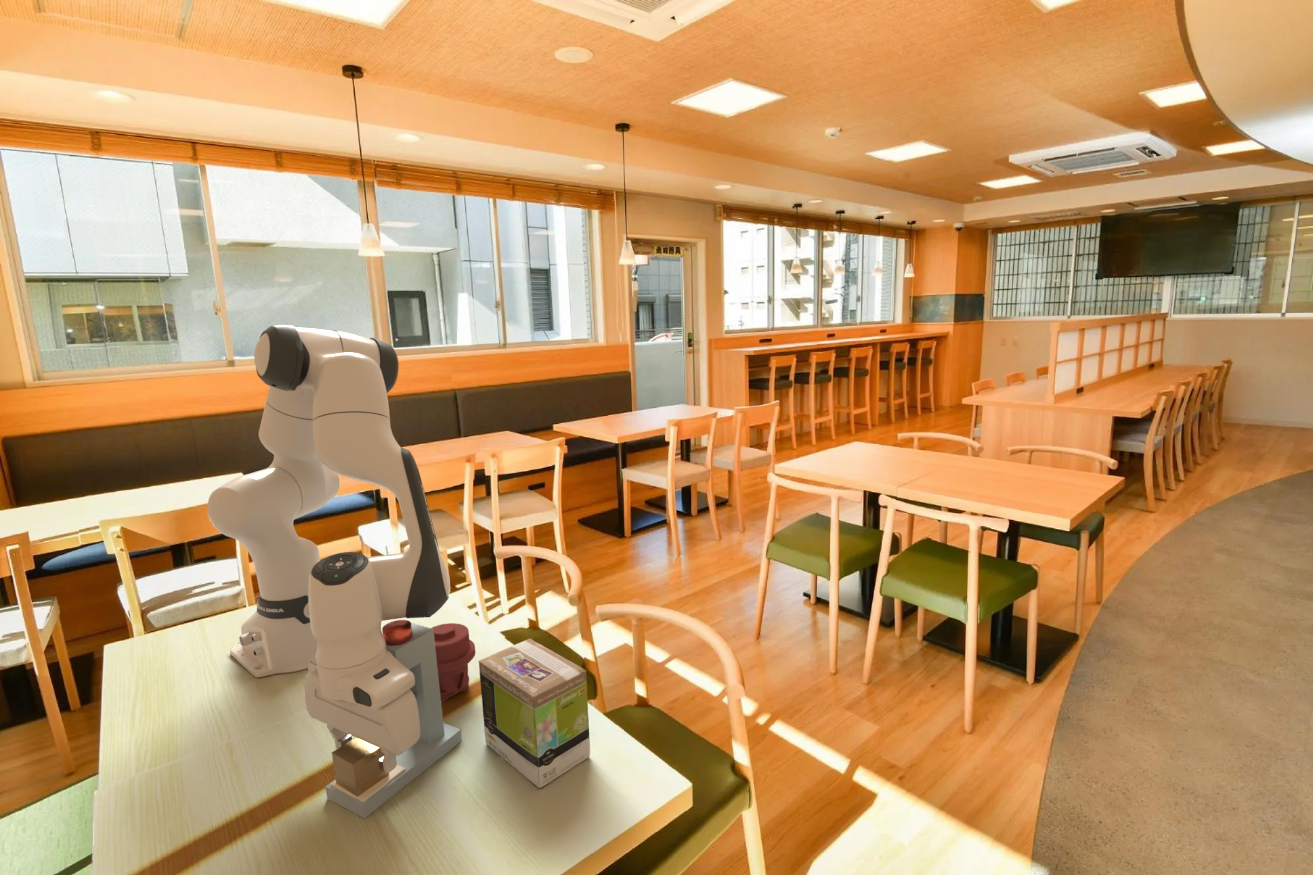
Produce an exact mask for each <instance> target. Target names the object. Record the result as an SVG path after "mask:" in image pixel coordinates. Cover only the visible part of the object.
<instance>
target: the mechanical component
mask: <svg viewBox="0 0 1313 875" xmlns="http://www.w3.org/2000/svg"><path fill="white" fill-rule="evenodd" d="M430 628H431V629H433V631H434V640H435V650H436V659H437V668H438V678H439V687H440V696H441V703H444V702H446V701H447V700H448V699H449V698H451V697H452V696H454V695H456V694H458V693H460V692H463V691H466V690H468V689H469V688H470V685H469V684H470V683H469V682H470V676H469V663H470V662H471V661H472V660H473V659H474V658H475V656H476V644H475V642H474V641H472V640H471V639H470V630H469V629H468V627H467V626H466V625H464V624H461V623H455V622H454V623H449V622H448V623H442V624H437V625H434V626H432V627H430Z"/></svg>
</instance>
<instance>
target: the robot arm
mask: <svg viewBox="0 0 1313 875" xmlns="http://www.w3.org/2000/svg"><path fill="white" fill-rule="evenodd" d="M260 334H261V335H260V336H259V339H258V341H257V343H256V346H255V348H254V353H253V354H254V355H253V357H254V360H253V361H254V364H255V368H256V369H255V370H256V374H257V376H258V377H259V379H260V380H261V381H262V382H263V383H264V384H265V385H267V386H269V389H268V392H267V394H266V395H267V397H266V400H265V404H264V408H263V412H262V417H261V422H260V426H259V429H258V438H259V441H260V442H261V444H262V446H264V448H265V449H266V450H267V451H268V452H270V453H272V454H273V460H272V461H271V464H269V465H268V467H266V468H264V469H261V470H256V471H254V472H251V473H246V474H243V475H241V476H238V477H235V478H233V479H231V480H230V481H227V482H226V483H224V484H222V485H221V486H219V487H217V488H216V489H214V490H213V491H212V492H211V494H210V495H209V497H208V500H207V509H206V510H207V511H206V512H207V517H208V519H209V521H210V523H211V524H212V526H213V527H214V528H215V529H216V530H217V532H219V533H220V534H223V535H224V536H225V537H228V538H232V539H234V540H236V541H238V542H239V543H240V544H241V545H242V546H243V547H244V548H245V549H246V550H247V552H248V554H249V555H250V557H251V559H252V562H253V566H254V570H255V573H256V579H257V584H258V590H259V591H258V592H256V593H254V596H255V597H254V600H257V601H256V611H255V612H254V613H253V614H251V616H250V617H249V618H247V619H246V620H245V621H244V622H243V623H242V626H241V627H240V629H241V631H240V632H241V635H239V640H238V641H239V642H237V643H236V644H235V645H234V646H233V647H232V648H230V649H229V654H230V656H232V658H234V660H236V662H238V663H239V664H240V665H242V667H243V668H245V669H246V671H247V672H249V673H250V674H251V675H252V676H254V677H255V678H262V677H266V676H271V675H275V674H276V675H277V674H283V673H294V672H298V671H302V670H306V669H307V671H308V673H307V674H306V676H305V678H304V698H305V707H306V711H307V713H308V715H309V716H310V717H311V718H312V719H314V720H317V721H318V722H320V723H323V724H325V725H326V728H327V730H328V732H329V733H330V735H331V738H332V739H333V740H334V744H335V750H336V749H338V748H340V747H341V746H343V745H345V744H346V743H348V742H349V741H351V740H353V737H354V738H359V739H361V740H363V741H365V742H367V743H370V744H372V745H374V746H376V747H379V748H381V752H382V753H384V757H382V758H380V759H379V760H378V762H379V765H380V766H379V769H380V770H382V771H384V772H386V773H389V772H391V771H392V770H393V769H395V768H396V766H397V760H396V756H399V755H401V754H403V753H404V752H405V751H407V750H408V749H410V748H411V747H412V746H413V745H415V744H416V743H417V741H418V740H419V738H420V720H419V712H418V706H417V701H416V698H415V696H414V694H413V692H412V691H411V690H410V688H412V687H413V686H414V685H415V677H414V674H413V673H412V672H411V671H410V670H409V669H407V668H406V667H405V666H403V665H402V664H401V663H400V662H399V661H398V660H397V659H396V658H395V657H394V656H393V655H392V654H391V653H390V652H389V651H387V648H386V641H385V638H384V636H383V632H382V621H389V620H392V621H393V620H400V619H405V618H406V619H417V618H418V619H419V618H420V619H421V618H422V619H423V618H431V617H432V616H433V615H435V614H436V613H437V612H438V611H439V610H440V609H441V608H443V606H444V605H445V604H446V603H447V601H448V600H449V596H450V591H451V590H450V589H451V580H450V574H449V570H448V567H447V565H446V562H445V560H444V557H443V556H442V554H441V551H440V548H439V544H438V540H437V536H436V532H435V528H434V524H433V519H432V516H431V513H430V508H429V504H428V499H427V496H426V493H425V488H424V485H423V481H422V477H421V475H420V471H419V467H418V465H417V462H416V460H415V457H414V456H413V454H412V452H411V451H410V450H409V449H406V448H404V447H401V446H400V445H399V443H398V441H397V440H396V438H395V436H394V434H393V430H392V428H391V416H390V406H389V399H388V393H389V392H390V391H392V389H394V387H395V385H396V382H397V379H398V376H399V365H400V364H399V358H398V354H397V353H396V350H395V349H394V347H393V346H392V345H391V344H390V343H388V342H385V341H383V340H381V339H378V338H375V337H370V338H368V337H365V336H362V335H359V334H354V333H350V332H346V331H342V330H341V331H340V330H335V329H333V330H328V329H320V328H311V327H310V328H309V327H296V326H294V325H292V324H277V325H271V326H269V327H268V328H266V329H265V330H264V331H263V332H262V333H260ZM339 475H340V476H343V477H346V478H347V479H350V480H355V481H358V482H363V483H366V484H370V485H374V486H378V487H381V488H384V489H386V490H388V491H389V492H391V493H392V494H393V495H394V496H395V498H396V499H397V501H398V503H399V508H400V511H401V516H402V520H403V523H404V524H403V525H404V528H405V532H406V536H407V537H406V538H407V540H408V545H409V548H408V549H406V551H404V552H399V553H392V554H385V555H384V554H383V555H381V554H380V555H375V556H374V555H373V556H367V555H364V554H363V553H360V552H356V551H355V552H353V551H347V552H346V551H344V552H339V553H338V552H337V553H334V554H330V555H328V556H327V557H324V558H322V559H321V555H320V554H321V553H320V550H319V546H317V544H315V543H314V542H313V541H311V540H310V539H307V538H304V537H301V536H299V535H298V534H297V532H296V529H295V527H294V520H296V519H298V518H301V517H303V516H306V515H309V514H310V513H313V512H315V511H318V510H320V509H321V508H322V507H324V506H325V505H327V504H328V503H329V502H331V501H332V500H333V499H334V498H335V497H336V496H337V495H338V493H339V490H340V478H339ZM256 595H258V596H256Z"/></svg>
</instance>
